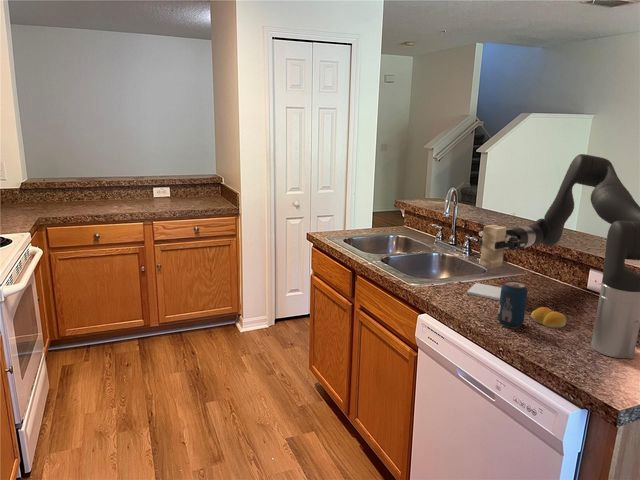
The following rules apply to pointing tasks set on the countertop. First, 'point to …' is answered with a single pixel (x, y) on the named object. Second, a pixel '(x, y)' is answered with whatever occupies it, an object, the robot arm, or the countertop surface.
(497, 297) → the ceramic tile
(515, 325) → the soda can
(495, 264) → the maple block
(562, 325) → the bread roll
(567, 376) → the countertop surface
